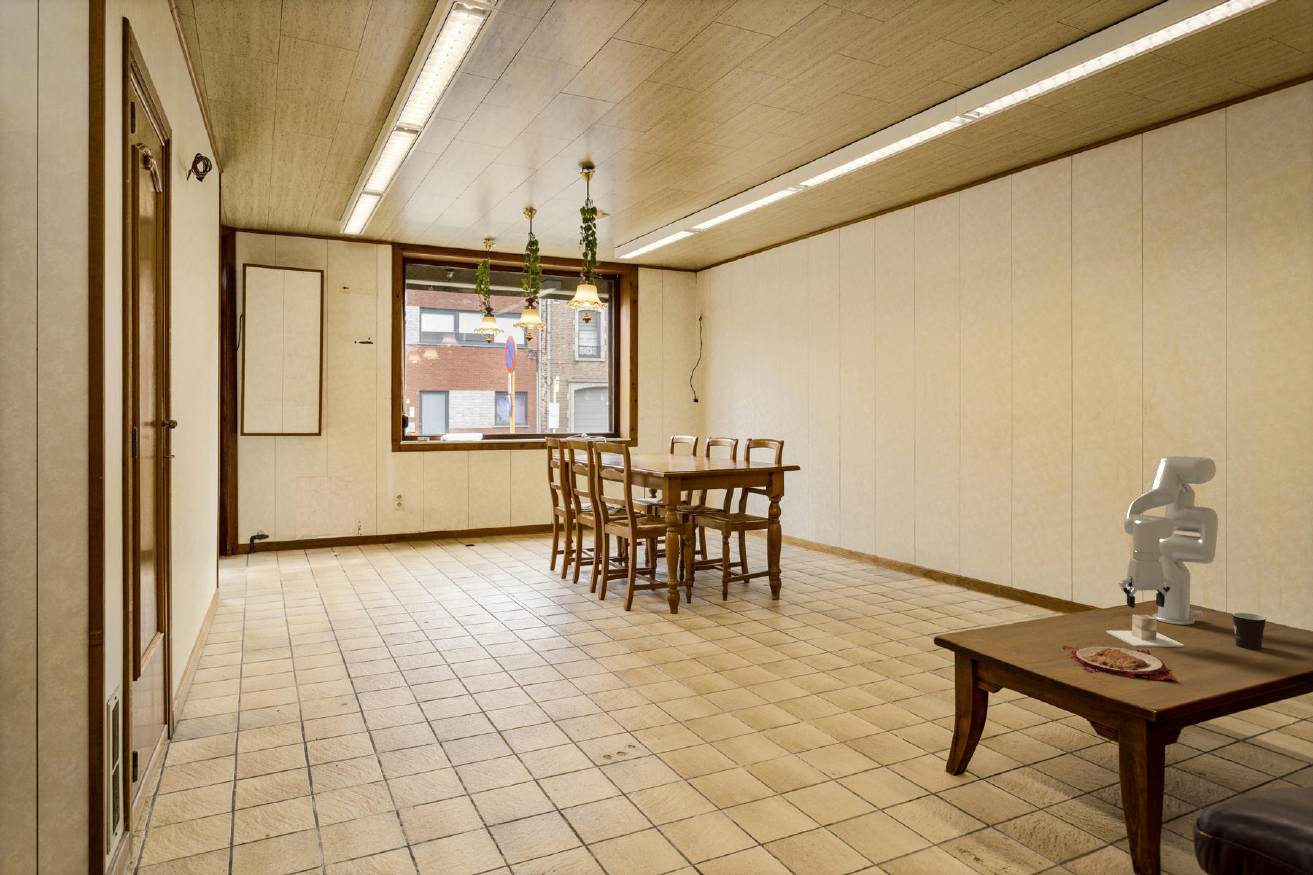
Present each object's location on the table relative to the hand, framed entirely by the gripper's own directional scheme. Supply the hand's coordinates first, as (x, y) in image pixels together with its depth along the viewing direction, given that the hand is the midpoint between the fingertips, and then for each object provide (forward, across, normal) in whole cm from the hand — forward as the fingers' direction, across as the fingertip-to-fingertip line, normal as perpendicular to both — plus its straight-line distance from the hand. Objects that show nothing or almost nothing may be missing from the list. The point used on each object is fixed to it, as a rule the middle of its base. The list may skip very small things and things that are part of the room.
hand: (1145, 606), depth 258 cm
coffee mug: (+12, -29, +8) cm, 32 cm away
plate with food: (+11, +25, +26) cm, 37 cm away
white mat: (+11, +1, +1) cm, 11 cm away
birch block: (+10, +1, +1) cm, 10 cm away
